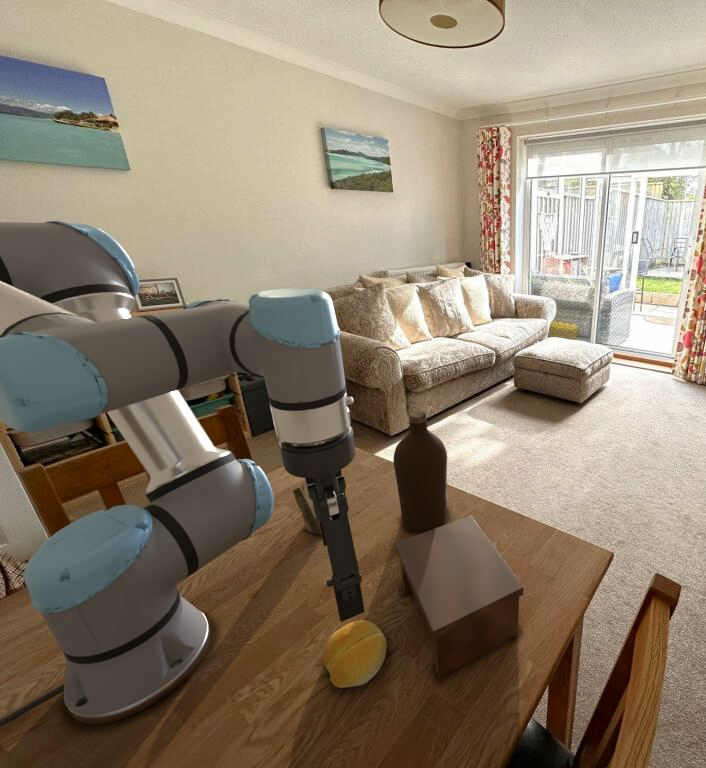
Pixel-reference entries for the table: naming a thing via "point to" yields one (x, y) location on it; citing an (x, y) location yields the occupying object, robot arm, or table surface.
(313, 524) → the rock
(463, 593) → the block
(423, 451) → the olive oil
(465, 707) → the table surface
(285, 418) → the robot arm
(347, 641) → the bread roll
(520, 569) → the table surface
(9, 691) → the table surface
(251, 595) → the table surface
